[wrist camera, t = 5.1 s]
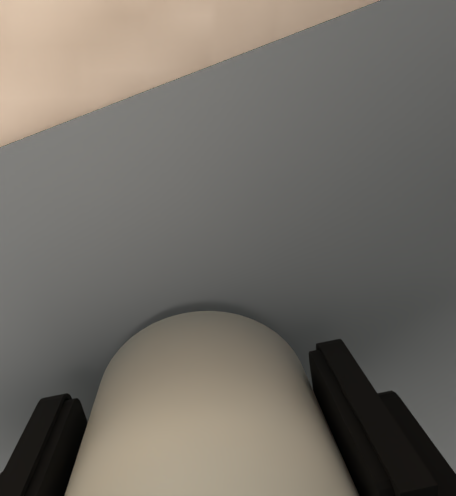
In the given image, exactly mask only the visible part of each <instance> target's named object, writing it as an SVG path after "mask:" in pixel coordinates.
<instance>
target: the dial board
mask: <svg viewBox="0 0 456 496" xmlns="http://www.w3.org/2000/svg"><path fill="white" fill-rule="evenodd" d="M195 311H220V312H228V313H233V314H238V315H242V316H245V317H247V318H250V319H253V320H255V321H257V322H259V323H261V324H263V325H265V326H267V327H268V328H270V329H271V330H273V331H274V332H276V333H277V334H278V335H279V336H280V337H282V338H283V339H284V340H285V341H286V342H287V343H288V344H289V346H290V347H291V348H292V349H293V350H294V352H295V354H296V355H297V357H298V359H299V360H300V362H301V364H302V367H303V369H304V371H305V373H306V376H307V378H308V380H309V382H310V385H311V387H312V389H313V386H312V378H311V371H310V363H309V351H314V350H316V344H317V343H321V342H326V341H331V340H336V339H341V340H342V341H343V342H344V344H345V345H346V347H347V348H348V350H349V351H350V353H351V354H352V356H353V357H354V359H355V360H356V362H357V363H358V365H359V366H360V368H361V369H362V371H363V372H364V374H365V375H366V377H367V378H368V380H369V381H370V383H371V384H372V386H373V387H374V389H375V390H376V392H377V393H381V392H386V391H391V390H392V391H394V392H396V393H397V395H398V396H399V397H400V398H401V400H402V401H403V402H404V404H405V405H406V406H407V408H408V409H409V410H410V412H411V413H412V415H413V416H414V417H415V419H416V420H417V421H418V423H419V424H420V426H421V427H422V428H423V430H424V431H425V432H426V434H427V435H428V437H429V438H430V439H431V441H432V442H433V443H434V445H435V446H436V448H437V449H438V450H439V452H440V453H441V454H442V456H443V457H444V458H445V460H446V461H447V463H448V464H449V465H450V467H451V468H452V469H453V471H454V472H455V474H456V0H380V1H378V2H375V3H373V4H370V5H367V6H365V7H362V8H360V9H357V10H354V11H352V12H349V13H347V14H344V15H341V16H339V17H336V18H334V19H331V20H329V21H326V22H323V23H321V24H318V25H316V26H313V27H310V28H308V29H305V30H303V31H300V32H298V33H295V34H292V35H290V36H287V37H285V38H282V39H279V40H277V41H274V42H272V43H269V44H266V45H264V46H261V47H259V48H256V49H254V50H251V51H248V52H246V53H243V54H241V55H238V56H235V57H233V58H230V59H228V60H225V61H222V62H220V63H217V64H215V65H212V66H210V67H207V68H204V69H202V70H199V71H197V72H194V73H191V74H189V75H186V76H184V77H181V78H178V79H176V80H173V81H171V82H168V83H166V84H163V85H160V86H158V87H155V88H153V89H150V90H147V91H145V92H142V93H140V94H137V95H135V96H132V97H129V98H127V99H124V100H122V101H119V102H116V103H114V104H111V105H109V106H106V107H103V108H101V109H98V110H96V111H93V112H91V113H88V114H85V115H83V116H80V117H78V118H75V119H72V120H70V121H67V122H65V123H62V124H59V125H57V126H54V127H52V128H49V129H47V130H44V131H41V132H39V133H36V134H34V135H31V136H28V137H26V138H23V139H21V140H18V141H15V142H13V143H10V144H8V145H5V146H3V147H0V473H1V472H3V470H4V468H5V466H6V465H7V463H8V461H9V459H10V457H11V455H12V453H13V451H14V449H15V447H16V445H17V443H18V441H19V439H20V437H21V435H22V433H23V431H24V429H25V427H26V425H27V423H28V421H29V419H30V417H31V415H32V413H33V411H34V409H35V407H36V405H37V404H38V402H39V400H40V399H42V398H45V397H50V396H55V395H60V394H65V393H68V394H70V396H71V397H72V399H74V398H78V399H79V400H80V402H81V404H82V407H83V410H84V413H85V416H86V419H87V422H88V420H89V417H90V414H91V410H92V407H93V404H94V401H95V398H96V395H97V392H98V389H99V385H100V382H101V380H102V377H103V374H104V372H105V370H106V368H107V366H108V364H109V362H110V361H111V359H112V358H113V356H114V355H115V354H116V353H117V351H118V350H119V349H120V348H121V347H122V346H123V345H124V344H125V343H126V342H127V341H128V340H129V339H130V338H131V337H133V336H134V335H135V334H137V333H138V332H139V331H141V330H142V329H144V328H146V327H148V326H149V325H151V324H153V323H155V322H158V321H160V320H162V319H165V318H167V317H171V316H175V315H178V314H182V313H188V312H195Z"/></svg>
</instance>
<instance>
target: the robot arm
mask: <svg viewBox="0 0 456 496" xmlns="http://www.w3.org/2000/svg"><path fill="white" fill-rule="evenodd" d="M309 363H310V371H311V378H312V386H313V392H314V394H315V396H316V398H317V401H318V403H319V405H320V407H321V410H322V412H323V414H324V416H325V419H326V421H327V423H328V426H329V428H330V430H331V432H332V435H333V437H334V439H335V441H336V444H337V446H338V448H339V450H340V453H341V455H342V457H343V460H344V462H345V464H346V466H347V469H348V471H349V473H350V475H351V478H352V480H353V482H354V484H355V487H356V489H357V491H358V493H359V496H456V474H455V472H454V471H453V469H452V468H451V467H450V465H449V464H448V463H447V461H446V460H445V458H444V457H443V456H442V454H441V453H440V452H439V450H438V449H437V448H436V446H435V445H434V443H433V442H432V441H431V439H430V438H429V437H428V435H427V434H426V432H425V431H424V430H423V428H422V427H421V426H420V424H419V423H418V421H417V420H416V419H415V417H414V416H413V415H412V413H411V412H410V410H409V409H408V408H407V406H406V405H405V404H404V402H403V401H402V400H401V398H400V397H399V396H398V395H397V393H396V392H394V391H392V390H391V391H386V392H381V393H377V392H376V390H375V389H374V387H373V386H372V384H371V383H370V381H369V380H368V378H367V377H366V375H365V374H364V372H363V371H362V369H361V368H360V366H359V365H358V363H357V362H356V360H355V359H354V357H353V356H352V354H351V353H350V351H349V350H348V348H347V347H346V345H345V344H344V342H343V341H342V340H341V339H336V340H331V341H326V342H321V343H317V344H316V350H314V351H309ZM87 423H88V422H87V419H86V416H85V413H84V410H83V407H82V404H81V402H80V400H79V399H78V398H74V399H72V397H71V396H70V394H68V393H65V394H60V395H55V396H50V397H45V398H42V399H40V400H39V402H38V404H37V405H36V407H35V409H34V411H33V413H32V415H31V417H30V419H29V421H28V423H27V425H26V427H25V429H24V431H23V433H22V435H21V437H20V439H19V441H18V443H17V445H16V447H15V449H14V451H13V453H12V455H11V457H10V459H9V461H8V463H7V465H6V466H5V468H4V470H3V472H1V473H0V496H64V495H65V492H66V489H67V486H68V483H69V480H70V476H71V473H72V470H73V467H74V464H75V461H76V458H77V454H78V451H79V448H80V445H81V442H82V439H83V436H84V432H85V429H86V426H87Z"/></svg>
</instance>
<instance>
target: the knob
mask: <svg viewBox="0 0 456 496" xmlns="http://www.w3.org/2000/svg"><path fill="white" fill-rule="evenodd" d="M64 496H359V493H358V491H357V489H356V487H355V484H354V482H353V480H352V478H351V475H350V473H349V471H348V469H347V466H346V464H345V462H344V460H343V457H342V455H341V453H340V450H339V448H338V446H337V444H336V441H335V439H334V437H333V435H332V432H331V430H330V428H329V426H328V423H327V421H326V419H325V416H324V414H323V412H322V410H321V407H320V405H319V403H318V401H317V398H316V396H315V394H314V392H313V389H312V387H311V385H310V382H309V380H308V378H307V376H306V373H305V371H304V369H303V367H302V364H301V362H300V360H299V359H298V357H297V355H296V354H295V352H294V350H293V349H292V348H291V347H290V346H289V344H288V343H287V342H286V341H285V340H284V339H283V338H282V337H280V336H279V335H278V334H277V333H276V332H274V331H273V330H271V329H270V328H268V327H267V326H265V325H263V324H261V323H259V322H257V321H255V320H253V319H250V318H247V317H245V316H242V315H238V314H233V313H228V312H220V311H195V312H188V313H182V314H178V315H175V316H171V317H167V318H165V319H162V320H160V321H158V322H155V323H153V324H151V325H149V326H148V327H146V328H144V329H142V330H141V331H139V332H138V333H137V334H135V335H134V336H133V337H131V338H130V339H129V340H128V341H127V342H126V343H125V344H124V345H123V346H122V347H121V348H120V349H119V350H118V351H117V353H116V354H115V355H114V356H113V358H112V359H111V361H110V362H109V364H108V366H107V368H106V370H105V372H104V374H103V377H102V380H101V382H100V385H99V389H98V392H97V395H96V398H95V401H94V404H93V407H92V410H91V414H90V417H89V420H88V423H87V426H86V429H85V432H84V436H83V439H82V442H81V445H80V448H79V451H78V454H77V458H76V461H75V464H74V467H73V470H72V473H71V476H70V480H69V483H68V486H67V489H66V492H65V495H64Z"/></svg>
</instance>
